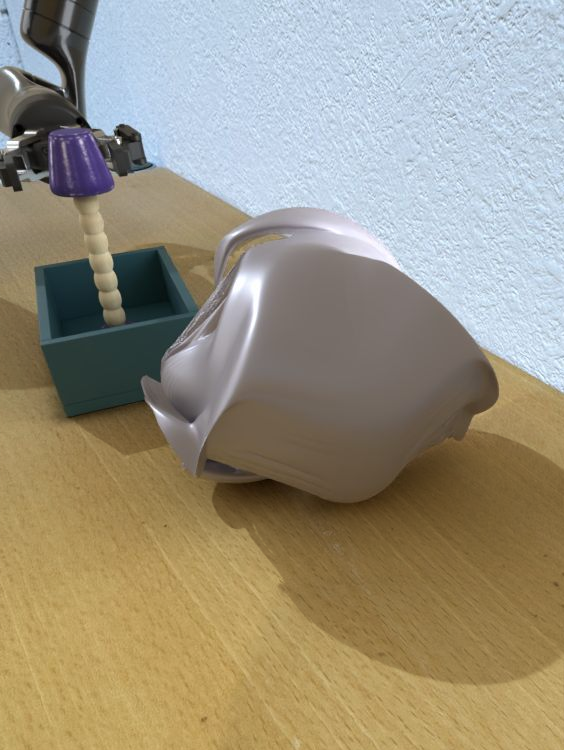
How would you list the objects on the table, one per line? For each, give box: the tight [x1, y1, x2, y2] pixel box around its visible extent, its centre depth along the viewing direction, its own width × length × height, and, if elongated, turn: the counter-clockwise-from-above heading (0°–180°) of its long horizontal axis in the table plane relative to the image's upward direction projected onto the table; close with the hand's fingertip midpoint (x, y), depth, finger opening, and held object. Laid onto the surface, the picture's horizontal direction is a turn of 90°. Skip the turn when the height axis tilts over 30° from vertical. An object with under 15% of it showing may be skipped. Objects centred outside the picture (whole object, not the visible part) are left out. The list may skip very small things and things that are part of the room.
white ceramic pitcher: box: [141, 206, 500, 504], centre depth 43 cm, size 20×18×15 cm
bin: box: [33, 245, 200, 418], centre depth 59 cm, size 18×12×6 cm, turn 23°
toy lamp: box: [48, 128, 133, 330], centre depth 55 cm, size 5×5×17 cm
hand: (69, 170), depth 58 cm, fingers open, 8 cm apart
